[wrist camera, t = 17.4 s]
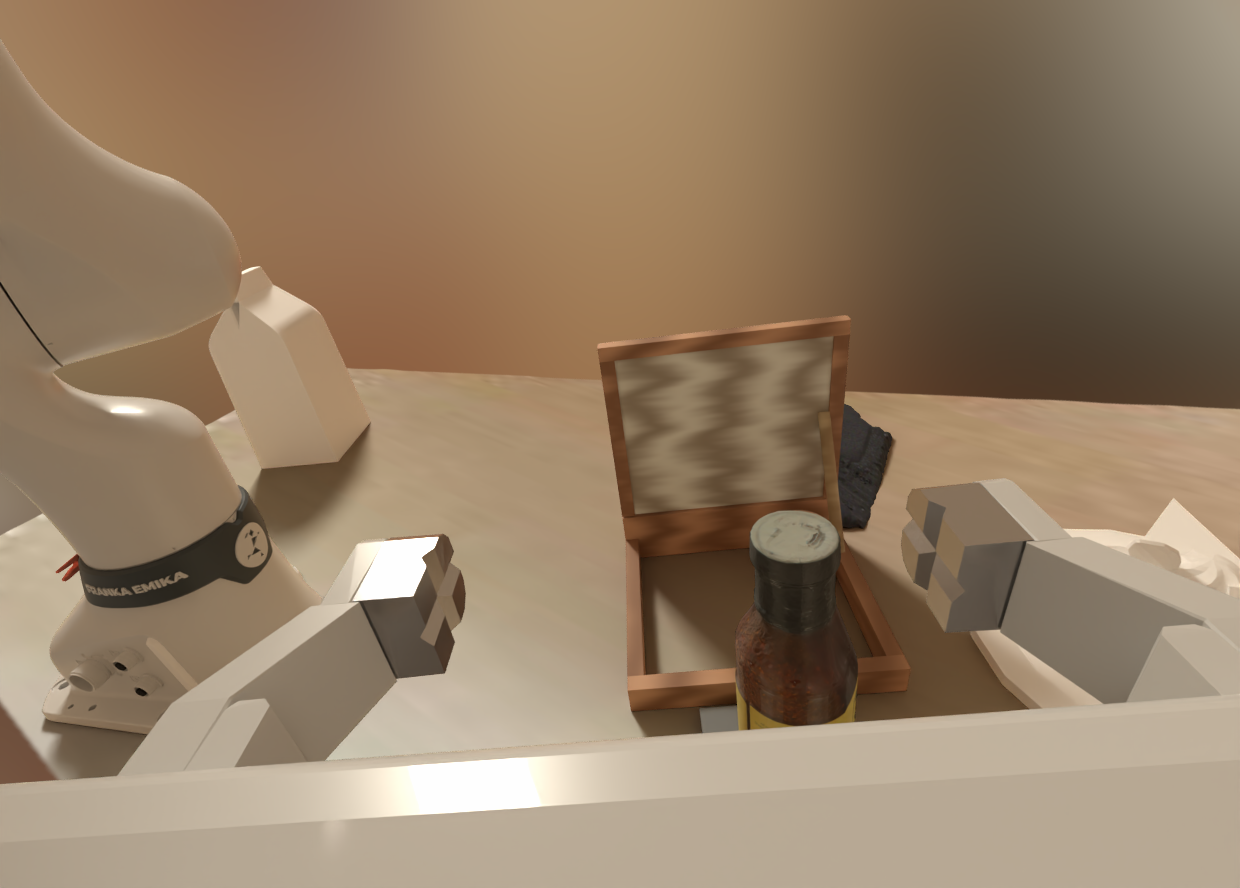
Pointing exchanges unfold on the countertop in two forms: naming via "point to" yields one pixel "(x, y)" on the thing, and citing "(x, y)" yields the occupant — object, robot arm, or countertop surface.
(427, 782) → the robot arm
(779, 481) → the cedar box
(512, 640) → the countertop surface
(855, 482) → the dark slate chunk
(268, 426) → the milk
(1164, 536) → the dish
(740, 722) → the sauce bottle
